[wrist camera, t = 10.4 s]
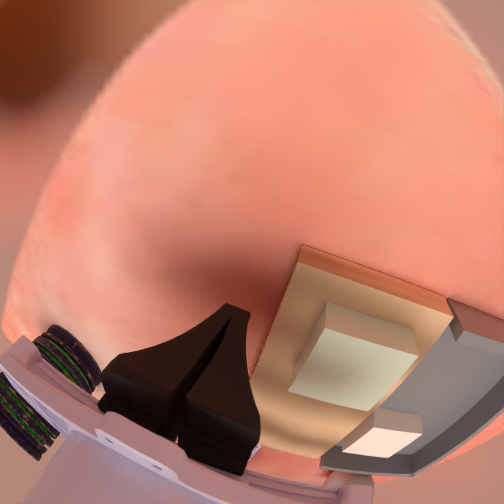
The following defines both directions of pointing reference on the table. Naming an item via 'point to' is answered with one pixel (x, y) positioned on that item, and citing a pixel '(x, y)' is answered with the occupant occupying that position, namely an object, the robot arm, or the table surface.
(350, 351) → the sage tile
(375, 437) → the cream tile
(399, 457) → the box
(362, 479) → the donut
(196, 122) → the table surface
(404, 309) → the oak board
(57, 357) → the storage jar
